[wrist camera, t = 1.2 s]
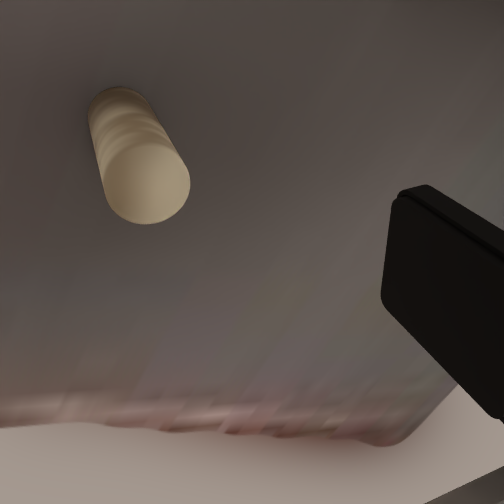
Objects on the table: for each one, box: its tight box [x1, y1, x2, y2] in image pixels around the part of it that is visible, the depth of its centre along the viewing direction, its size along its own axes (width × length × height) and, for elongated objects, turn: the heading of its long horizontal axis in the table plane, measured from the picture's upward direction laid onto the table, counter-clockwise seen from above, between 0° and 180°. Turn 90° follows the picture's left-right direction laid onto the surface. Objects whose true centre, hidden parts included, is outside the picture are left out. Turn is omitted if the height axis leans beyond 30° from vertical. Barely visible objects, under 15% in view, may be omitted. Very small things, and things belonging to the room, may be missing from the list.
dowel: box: [88, 87, 190, 224], centre depth 26 cm, size 4×4×10 cm
